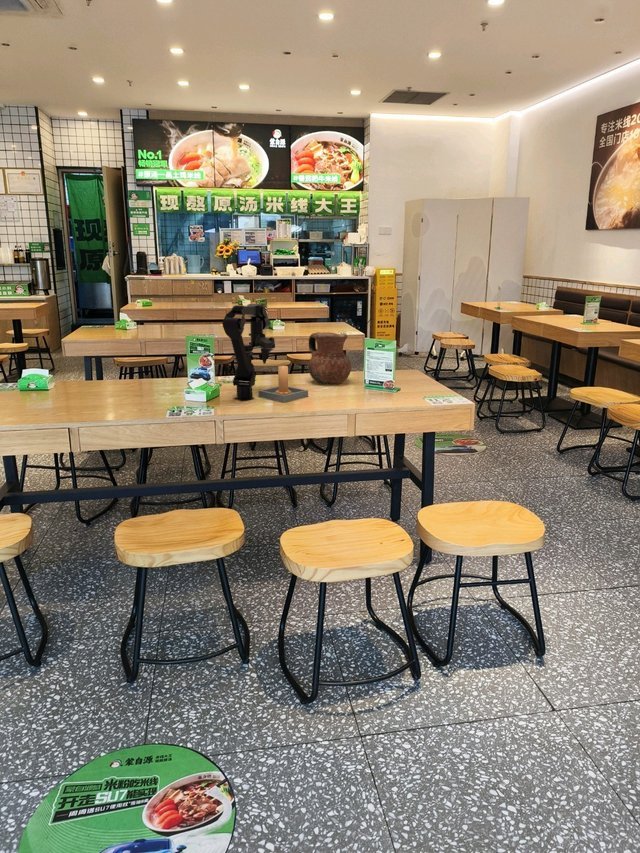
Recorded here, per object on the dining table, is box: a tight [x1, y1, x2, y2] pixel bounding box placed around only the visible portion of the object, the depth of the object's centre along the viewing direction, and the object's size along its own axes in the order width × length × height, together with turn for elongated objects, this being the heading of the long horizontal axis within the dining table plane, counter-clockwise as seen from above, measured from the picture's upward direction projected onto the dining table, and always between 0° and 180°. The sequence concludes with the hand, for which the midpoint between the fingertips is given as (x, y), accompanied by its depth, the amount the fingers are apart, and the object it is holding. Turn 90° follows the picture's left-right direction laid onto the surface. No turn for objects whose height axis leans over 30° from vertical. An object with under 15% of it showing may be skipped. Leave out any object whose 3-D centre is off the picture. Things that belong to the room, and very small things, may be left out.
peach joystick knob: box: [275, 365, 291, 395], centre depth 284 cm, size 7×7×13 cm
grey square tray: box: [258, 385, 309, 403], centre depth 286 cm, size 16×16×3 cm
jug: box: [307, 331, 353, 386], centre depth 316 cm, size 22×21×25 cm
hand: (257, 364), depth 292 cm, fingers open, 9 cm apart
